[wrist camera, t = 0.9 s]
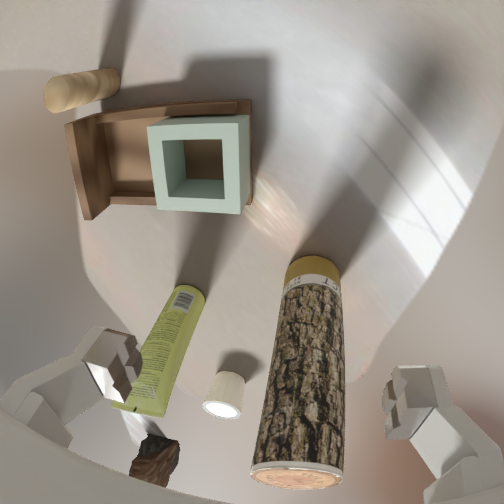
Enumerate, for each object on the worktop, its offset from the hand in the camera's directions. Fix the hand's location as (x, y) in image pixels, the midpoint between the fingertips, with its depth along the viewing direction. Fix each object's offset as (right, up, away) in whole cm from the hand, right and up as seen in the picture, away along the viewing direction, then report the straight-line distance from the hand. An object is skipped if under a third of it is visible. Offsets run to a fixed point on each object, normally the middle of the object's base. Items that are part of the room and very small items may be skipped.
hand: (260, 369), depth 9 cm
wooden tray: (-9, +14, +24) cm, 29 cm away
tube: (-9, -3, +36) cm, 37 cm away
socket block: (-5, +14, +22) cm, 26 cm away
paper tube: (+7, +1, +30) cm, 31 cm away
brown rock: (-27, -58, +76) cm, 99 cm away
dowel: (-17, +23, +20) cm, 35 cm away
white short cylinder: (-4, -20, +46) cm, 50 cm away
